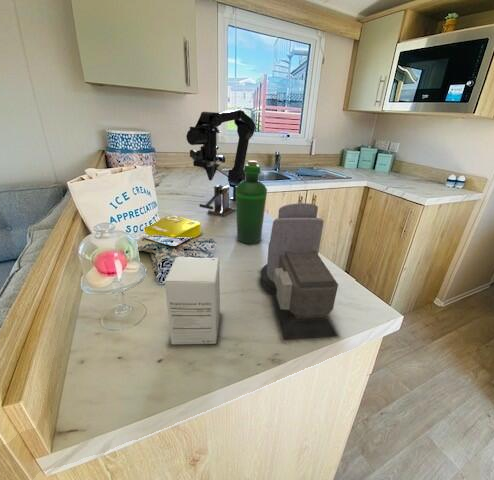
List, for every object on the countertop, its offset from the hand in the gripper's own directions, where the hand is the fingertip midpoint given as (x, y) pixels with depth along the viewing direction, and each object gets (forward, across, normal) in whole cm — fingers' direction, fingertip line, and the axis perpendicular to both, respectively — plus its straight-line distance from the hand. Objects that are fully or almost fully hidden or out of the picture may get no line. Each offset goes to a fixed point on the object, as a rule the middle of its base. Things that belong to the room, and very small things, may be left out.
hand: (210, 180), depth 124 cm
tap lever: (+6, +8, +6) cm, 12 cm away
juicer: (+13, +53, +52) cm, 75 cm away
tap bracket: (+13, +3, +7) cm, 15 cm away
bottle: (+13, +26, +29) cm, 41 cm away
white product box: (+13, +72, +35) cm, 81 cm away
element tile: (+13, +34, +3) cm, 37 cm away
